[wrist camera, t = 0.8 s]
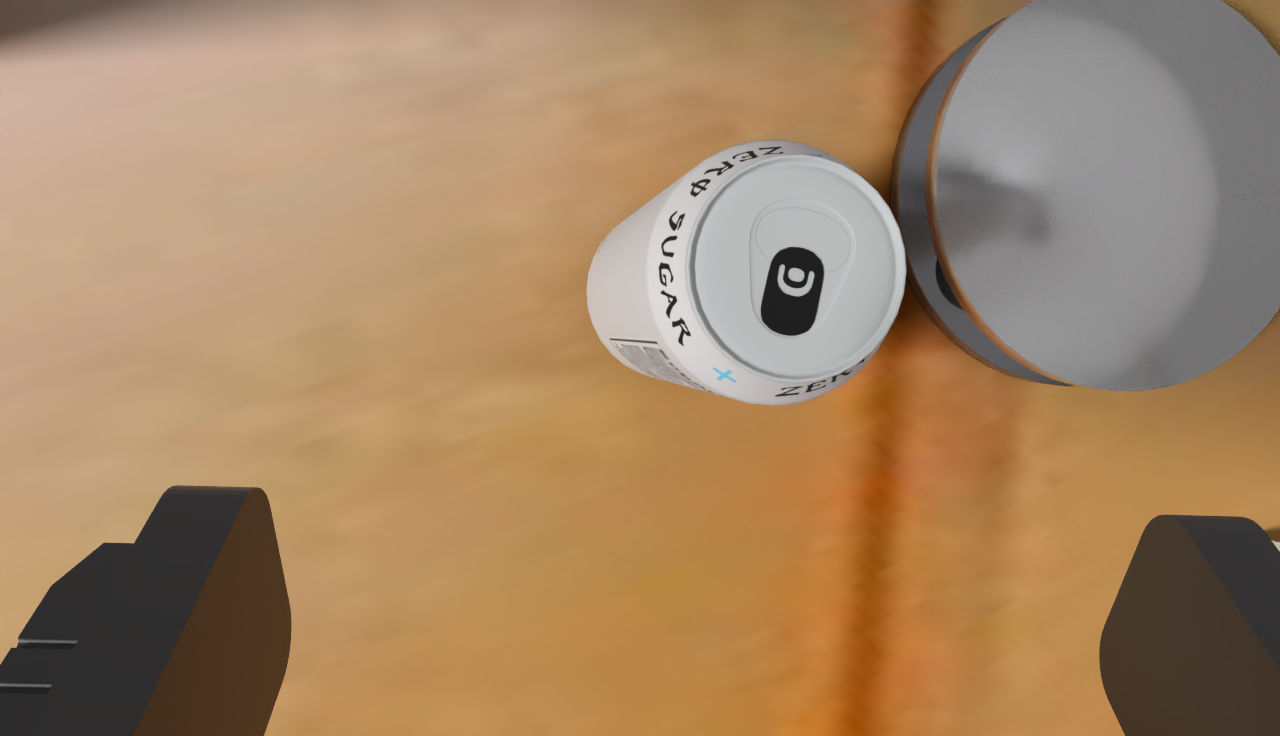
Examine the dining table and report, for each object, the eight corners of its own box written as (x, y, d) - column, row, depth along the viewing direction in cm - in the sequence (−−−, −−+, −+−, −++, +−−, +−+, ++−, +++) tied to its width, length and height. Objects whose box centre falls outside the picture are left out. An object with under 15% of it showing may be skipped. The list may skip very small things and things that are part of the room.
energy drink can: (766, 229, 37) (959, 162, 22) (731, 393, 37) (901, 436, 22) (603, 190, 36) (691, 92, 21) (567, 359, 36) (630, 379, 21)
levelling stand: (826, 281, 37) (867, 276, 34) (991, -60, 38) (1050, -106, 34) (1139, 446, 40) (1213, 459, 36) (1291, 121, 40) (1380, 98, 36)
